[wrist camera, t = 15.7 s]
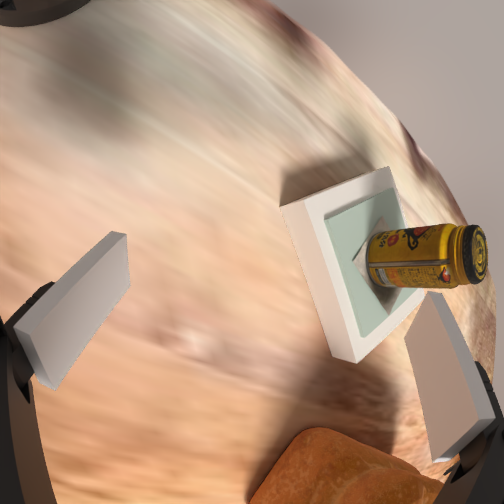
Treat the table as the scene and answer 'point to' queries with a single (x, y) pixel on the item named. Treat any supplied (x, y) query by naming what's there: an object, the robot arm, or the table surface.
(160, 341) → the table surface
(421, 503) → the bread
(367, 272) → the condiment
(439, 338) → the robot arm
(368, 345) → the riser
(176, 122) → the table surface
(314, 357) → the table surface
